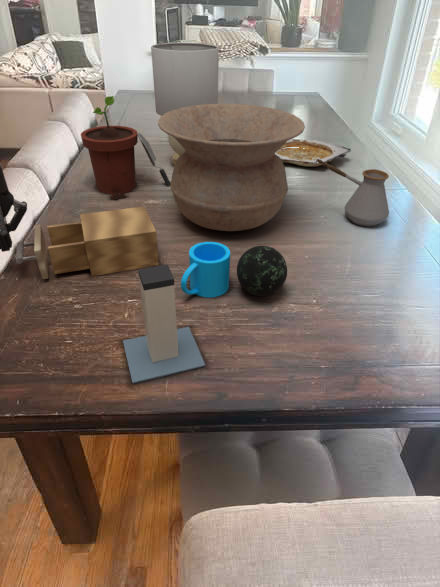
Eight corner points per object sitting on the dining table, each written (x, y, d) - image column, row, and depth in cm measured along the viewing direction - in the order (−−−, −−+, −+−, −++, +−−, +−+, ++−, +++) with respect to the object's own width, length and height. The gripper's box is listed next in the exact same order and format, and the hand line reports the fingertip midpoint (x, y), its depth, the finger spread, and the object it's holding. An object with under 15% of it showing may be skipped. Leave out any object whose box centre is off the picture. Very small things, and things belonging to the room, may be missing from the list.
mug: (208, 270, 91) (208, 237, 86) (236, 284, 87) (238, 251, 82) (168, 294, 84) (165, 260, 79) (197, 311, 79) (196, 276, 74)
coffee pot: (385, 213, 115) (400, 160, 106) (386, 232, 106) (403, 176, 97) (308, 203, 120) (316, 151, 111) (303, 220, 111) (312, 165, 102)
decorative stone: (281, 277, 89) (287, 237, 83) (286, 307, 81) (293, 264, 75) (235, 276, 89) (237, 235, 83) (235, 305, 81) (238, 262, 75)
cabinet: (91, 276, 88) (84, 241, 83) (86, 247, 98) (79, 214, 92) (158, 265, 92) (156, 231, 87) (147, 238, 102) (144, 206, 96)
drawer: (20, 282, 84) (11, 254, 80) (22, 254, 93) (13, 227, 89) (108, 268, 89) (104, 241, 85) (102, 243, 98) (98, 216, 94)
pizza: (344, 176, 137) (351, 153, 154) (346, 164, 134) (353, 142, 151) (251, 165, 146) (268, 145, 163) (251, 153, 143) (268, 134, 160)
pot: (170, 191, 125) (165, 102, 110) (282, 193, 125) (293, 104, 110) (157, 249, 97) (148, 141, 82) (301, 251, 98) (318, 144, 83)
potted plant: (115, 172, 136) (104, 89, 121) (171, 184, 129) (166, 97, 114) (78, 191, 123) (60, 100, 108) (138, 206, 116) (127, 111, 101)
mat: (132, 384, 65) (132, 382, 65) (123, 342, 72) (122, 340, 72) (205, 366, 68) (205, 364, 68) (189, 328, 76) (188, 326, 75)
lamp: (147, 166, 141) (136, 46, 120) (181, 150, 155) (177, 40, 134) (195, 178, 133) (193, 52, 112) (227, 161, 147) (231, 45, 125)
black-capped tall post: (152, 362, 68) (143, 284, 58) (147, 346, 71) (138, 269, 61) (178, 356, 69) (174, 278, 60) (172, 341, 72) (167, 264, 63)
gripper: (18, 156, 79) (40, 236, 90) (-60, 163, 76) (-28, 245, 86) (16, 170, 74) (40, 253, 84) (-68, 178, 70) (-32, 264, 81)
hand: (6, 249), depth 85 cm, fingers closed
